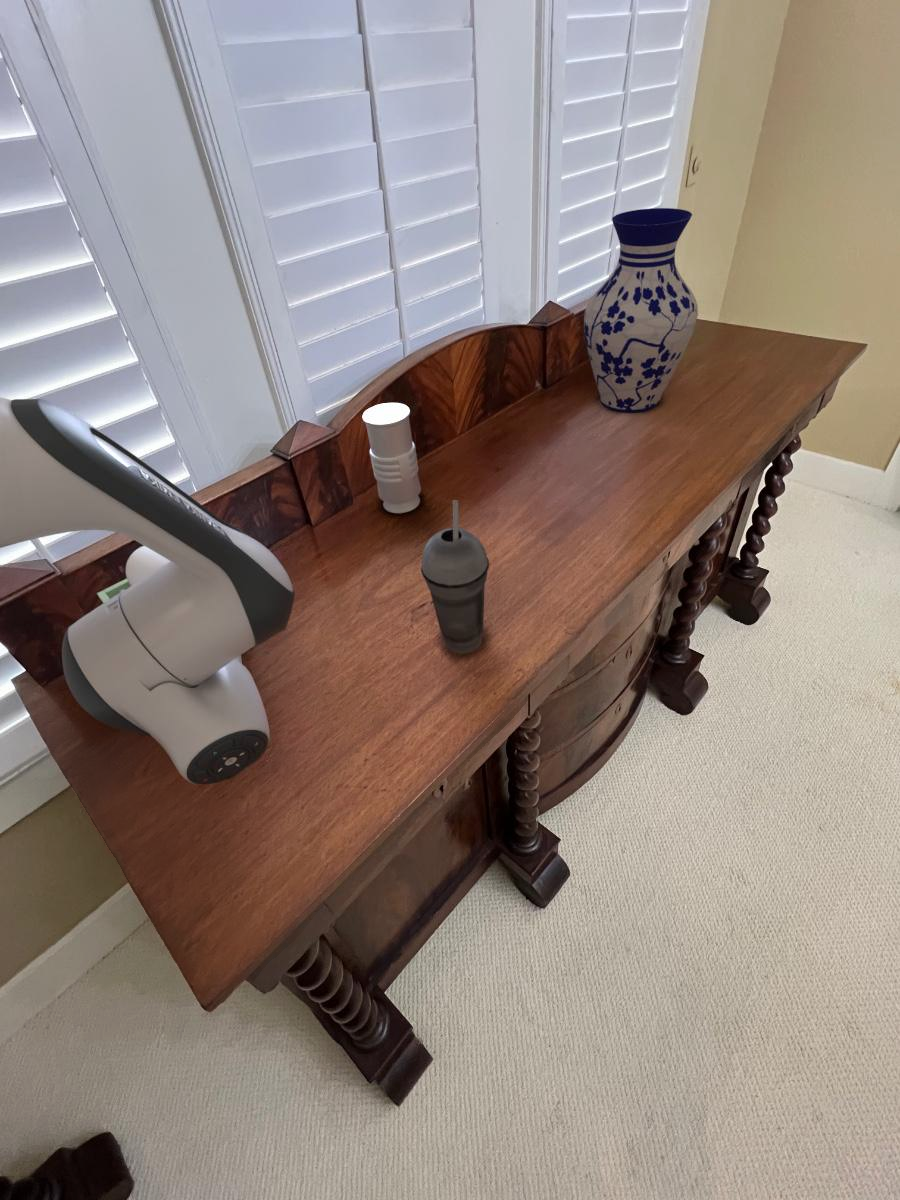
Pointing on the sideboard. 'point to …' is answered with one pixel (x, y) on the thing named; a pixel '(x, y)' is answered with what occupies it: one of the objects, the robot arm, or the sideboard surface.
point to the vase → (640, 312)
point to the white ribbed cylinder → (393, 456)
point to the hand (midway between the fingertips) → (162, 579)
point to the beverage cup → (457, 584)
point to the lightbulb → (143, 564)
